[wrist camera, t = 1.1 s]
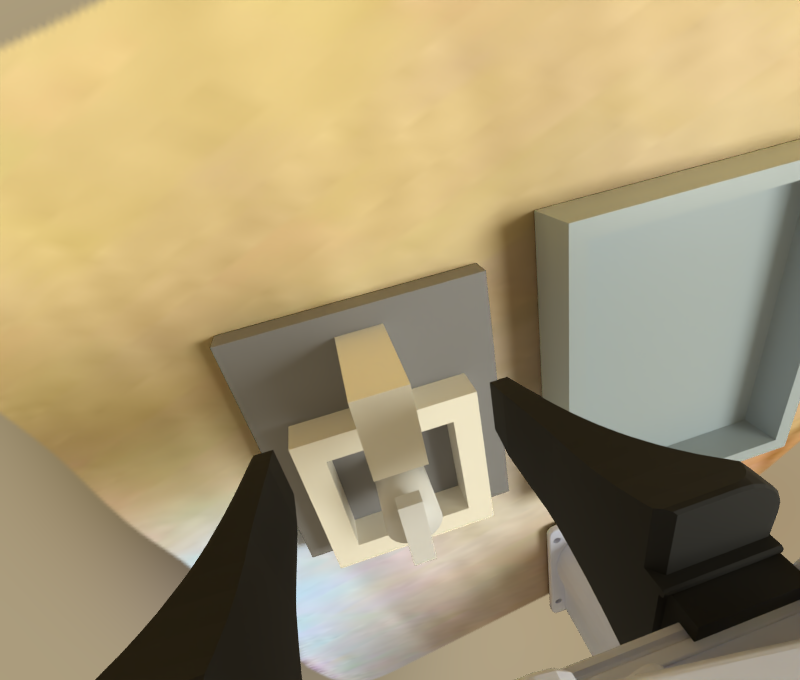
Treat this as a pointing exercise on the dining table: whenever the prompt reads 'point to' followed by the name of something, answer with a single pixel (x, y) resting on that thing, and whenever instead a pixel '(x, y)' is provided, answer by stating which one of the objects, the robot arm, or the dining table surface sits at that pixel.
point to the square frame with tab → (389, 444)
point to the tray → (678, 305)
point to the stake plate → (325, 393)
